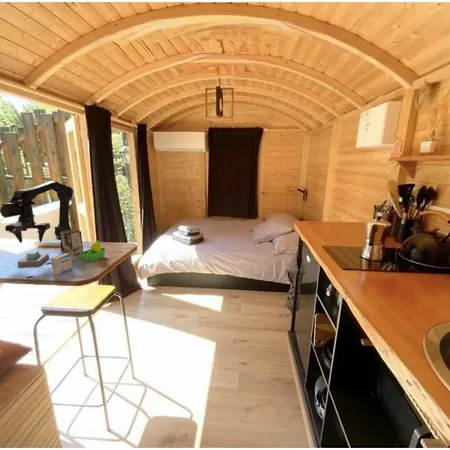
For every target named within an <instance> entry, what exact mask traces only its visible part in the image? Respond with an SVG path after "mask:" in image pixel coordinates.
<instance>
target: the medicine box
mask: <svg viewBox="0 0 450 450" xmlns="http://www.w3.org/2000/svg"><path fill="white" fill-rule="evenodd" d="M50 264H51V270H52V272H51V273H52V275H54V274H55V275H56V276H62V275H64V274H66V273H67V271H68V272H69V270H70V271H71V269H72V270H73V263H72V260H71V255H70V254H68V253H64V252H63V253H60V254H58V255H56V256H54V257H51V258H50ZM65 272H66V273H65ZM63 273H64V274H63ZM61 274H62V275H61Z"/></svg>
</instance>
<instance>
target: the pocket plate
mask: <svg viewBox="0 0 450 450" xmlns="http://www.w3.org/2000/svg"><path fill="white" fill-rule="evenodd" d="M39 254H40V257H39V258H38V259H34V260H26V259H27V255H26V256H24V257H23V258H21V259H19V260H18V261H17V266H18V267H31V266H41V265H42V264H44V263H45V262H46V261H47V260H49V259H50V254H49V253H39Z"/></svg>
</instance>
